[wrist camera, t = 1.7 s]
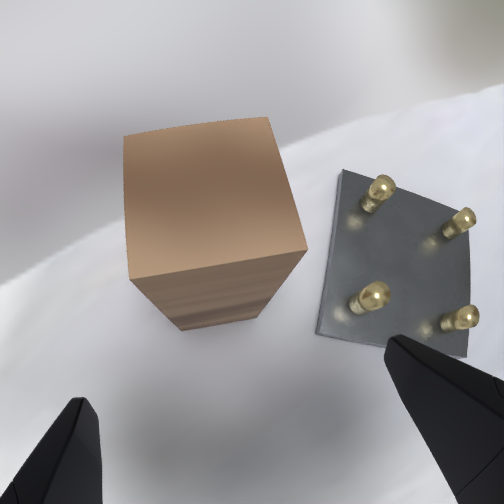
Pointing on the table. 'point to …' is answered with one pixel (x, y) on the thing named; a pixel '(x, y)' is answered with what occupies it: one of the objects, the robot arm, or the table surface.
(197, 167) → the walnut block
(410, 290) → the standoff plate
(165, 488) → the table surface
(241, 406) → the table surface
